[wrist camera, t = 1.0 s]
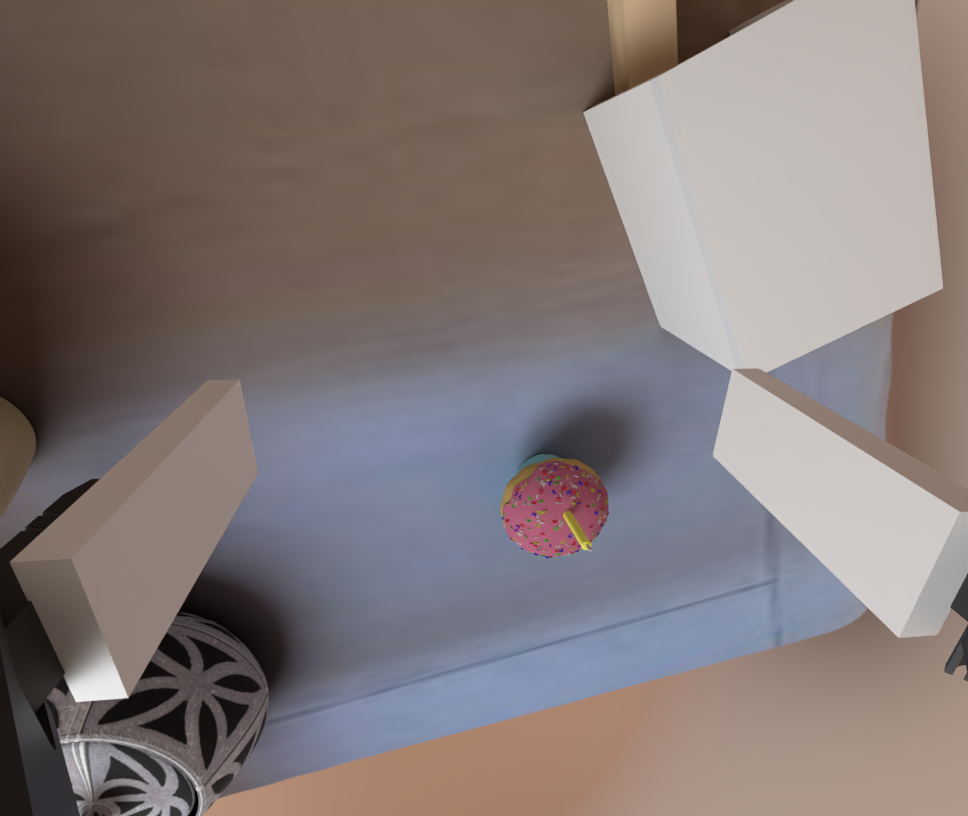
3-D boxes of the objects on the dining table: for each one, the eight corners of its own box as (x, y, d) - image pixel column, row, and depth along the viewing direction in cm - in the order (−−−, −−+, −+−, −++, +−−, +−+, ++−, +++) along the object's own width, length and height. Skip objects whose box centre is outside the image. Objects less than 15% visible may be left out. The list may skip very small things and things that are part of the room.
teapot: (233, 510, 42) (138, 666, 29) (308, 744, 55) (267, 930, 41) (-6, 535, 41) (-223, 709, 28) (126, 768, 54) (22, 967, 40)
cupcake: (509, 425, 41) (537, 512, 31) (605, 443, 43) (664, 531, 32) (484, 511, 45) (501, 618, 34) (575, 525, 46) (619, 631, 35)
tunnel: (583, 112, 33) (658, 76, 22) (743, 22, 32) (908, -64, 21) (660, 326, 39) (747, 381, 28) (796, 258, 38) (943, 288, 27)
